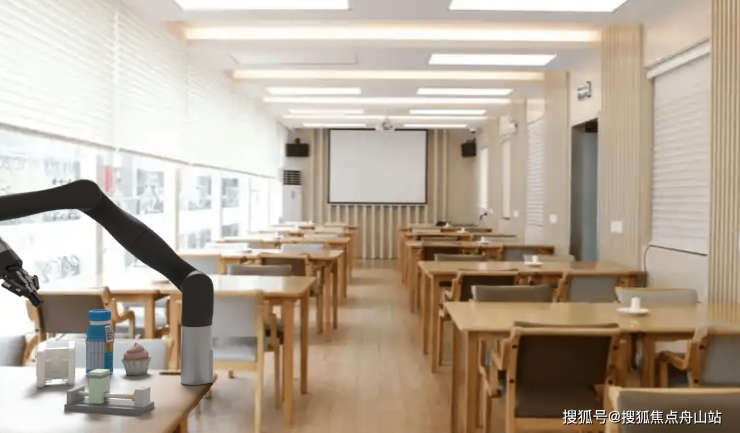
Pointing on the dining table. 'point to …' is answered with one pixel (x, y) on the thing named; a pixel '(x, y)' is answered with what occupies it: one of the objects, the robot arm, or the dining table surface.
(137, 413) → the grey slide rail
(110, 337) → the beverage bottle
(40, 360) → the white plastic stand
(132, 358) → the cupcake
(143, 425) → the dining table surface
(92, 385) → the notched mint block
